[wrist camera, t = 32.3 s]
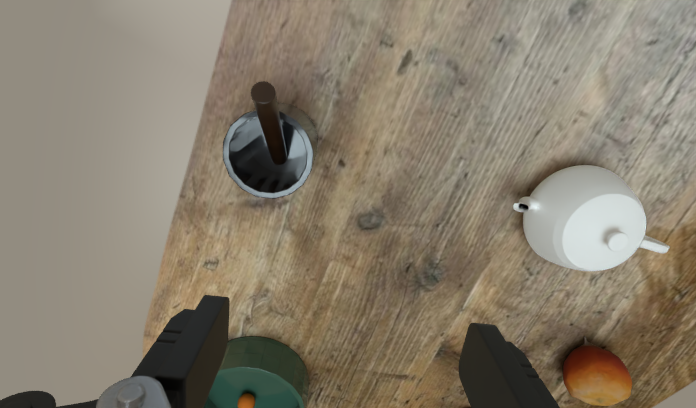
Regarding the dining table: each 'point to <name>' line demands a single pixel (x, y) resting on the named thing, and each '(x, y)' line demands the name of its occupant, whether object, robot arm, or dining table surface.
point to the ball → (246, 401)
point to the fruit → (596, 376)
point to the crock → (254, 158)
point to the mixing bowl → (260, 375)
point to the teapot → (585, 219)
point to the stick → (270, 120)
